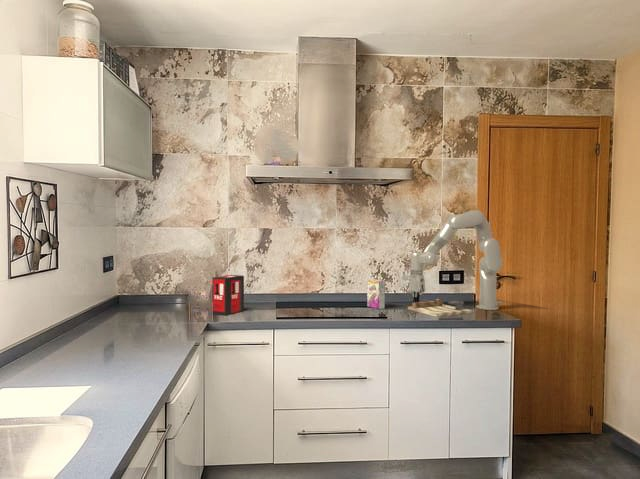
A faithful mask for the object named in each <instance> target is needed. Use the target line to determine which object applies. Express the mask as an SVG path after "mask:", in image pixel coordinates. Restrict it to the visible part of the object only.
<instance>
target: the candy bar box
mask: <svg viewBox="0 0 640 479" xmlns="http://www.w3.org/2000/svg"><path fill="white" fill-rule="evenodd" d="M366 287H367V288H366V292H367V293H366V307H368V308H371V309H376V310H383V309H385V308H386V307H385V303H386V300H385V299H386V281H385V280H381V279H374V278H372V279H367V280H366Z"/></svg>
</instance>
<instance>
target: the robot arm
mask: <svg viewBox="0 0 640 479" xmlns="http://www.w3.org/2000/svg"><path fill="white" fill-rule="evenodd" d="M470 227H473V228H474V230H475V233H476V241H477V245H478V250H479V252H481V253H483V255H484V256H482V257H481V258H480V259H479V262H478V268H479V296H478V298H479V299H478V301H479V302H478V304H477V305H476V309H479V310H487V311H497V310H499V309H500V308H499V306H498V305H502V301H498V300H497V283H498V282H497V281H498V280H497V279H498V278H497V277H498V276H497V273H498V272H500V271H501V269H502V267H503V260H502V259H503V258H502V253H501V247H500V246H501V245H500V243H499V241H497V239H496V238H493V234H492V228H491V225H490V222H489V221H488V219H487V218H485V214H484V213H483V212H482V211H480V210H477V209H475V210H469V211H466V212H464V213H459V214H452V215H450V216H449V217H448V218H447V219H446V221H445V222H444V223H443V225H442V226H441V228H440V229H439V231H438V232H437V234H436V235H435V236H434V237H433V239H432V240H431V241H430V242H429V243H428V245H427V247H425V250H424V251H423V252H420V251H419V252H418V251H415V252H411V253H410V262H409V263H410V264H409V265H410V266H409V267H410V270H409V271H410V273H409V274H410V275H409V278H408V279H409V280H408V290H409V293H411V295H412V298H413V299H412V301H413V302H412V303H414V302H420V297H421V295H424V293H425V292H426V280H425V275H424V265H428V266H433V265H436V263H437V262H438V256H437V255H438V253H439V252H440V251H441V249H443V248H444V247H445V246H447V245H448V244H449V243H450V242H451V240H452V239H453V237H454V236H455V234H456V233H457V232H458V230H461V229H466V228H470Z"/></svg>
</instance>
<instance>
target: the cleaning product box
mask: <svg viewBox="0 0 640 479" xmlns="http://www.w3.org/2000/svg"><path fill="white" fill-rule="evenodd" d="M211 278H212V279H211V280H212V290H211V291H212V293H211V294H212V299H211V300H212V301H211V302H213V314H212V315H215V316H223V317H227V316H231V315H234V314H238V313H241V312H244V311H245V305H244V304H245V276H244V275H242V274H240V275H237V274H227V275H220V276H219V275H218V276H213V277H211Z"/></svg>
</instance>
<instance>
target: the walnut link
mask: <svg viewBox="0 0 640 479" xmlns="http://www.w3.org/2000/svg"><path fill="white" fill-rule="evenodd" d="M442 304H443V300H441V298H436V300H429V301H428V300H427V301H419V302H414V303H413V302H412V304H411V305H412V307H415V308H418V307H430V306H442Z"/></svg>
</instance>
